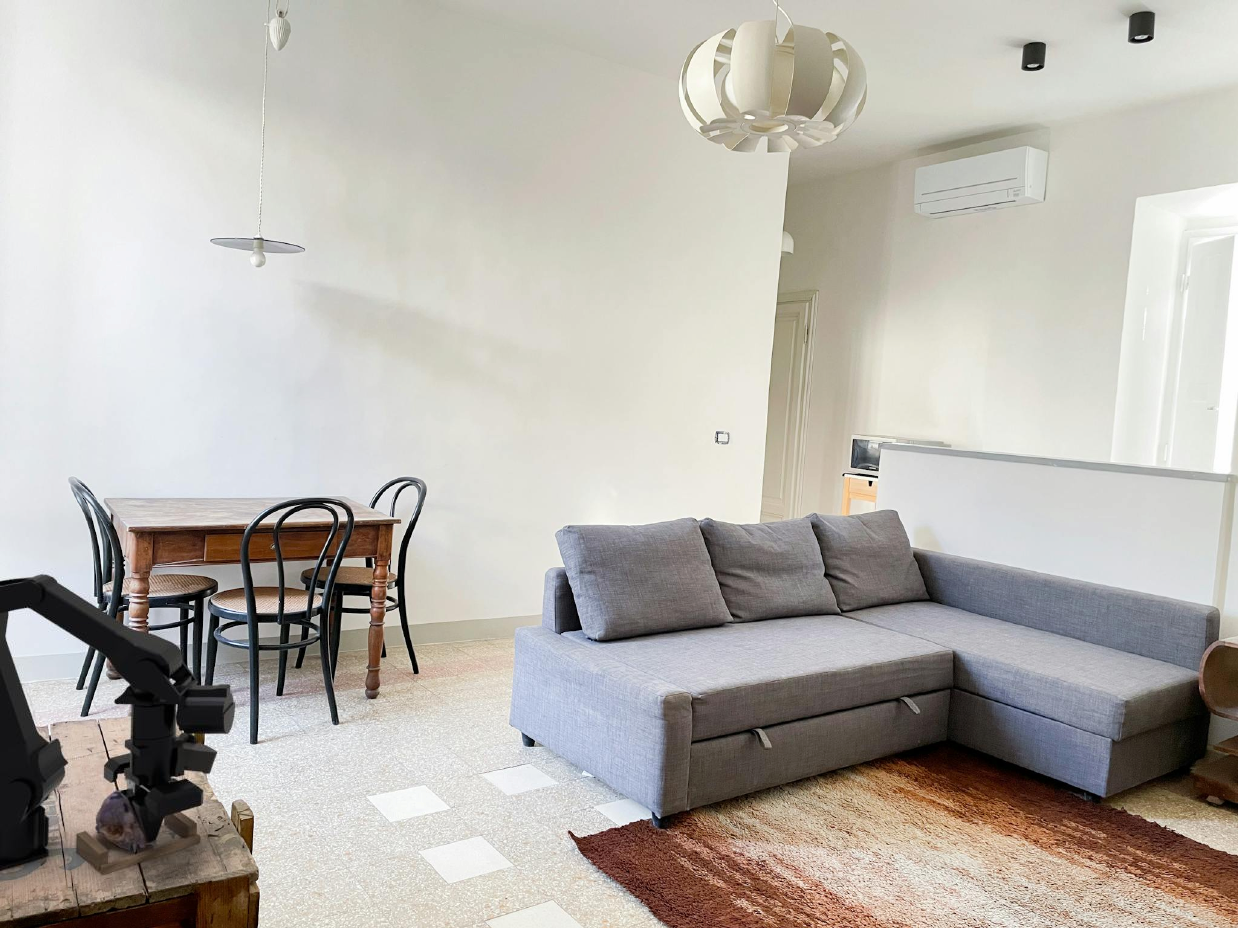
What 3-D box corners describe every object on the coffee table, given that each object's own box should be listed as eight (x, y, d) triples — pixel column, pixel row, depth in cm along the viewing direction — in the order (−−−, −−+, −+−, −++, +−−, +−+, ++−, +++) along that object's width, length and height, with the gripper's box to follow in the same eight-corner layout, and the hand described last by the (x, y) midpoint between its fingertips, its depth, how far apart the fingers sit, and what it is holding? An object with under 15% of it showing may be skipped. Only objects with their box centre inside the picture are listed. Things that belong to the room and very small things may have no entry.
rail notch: (102, 874, 124) (102, 856, 124) (75, 850, 130) (76, 833, 130) (200, 842, 134) (201, 825, 134) (171, 821, 140) (172, 805, 140)
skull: (169, 849, 132) (170, 808, 132) (110, 865, 127) (111, 822, 126) (145, 818, 141) (146, 779, 140) (89, 832, 136) (90, 791, 135)
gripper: (241, 736, 129) (238, 844, 130) (180, 704, 141) (178, 803, 142) (160, 757, 121) (157, 871, 122) (103, 720, 133) (101, 825, 134)
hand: (151, 840), depth 130 cm, fingers closed
